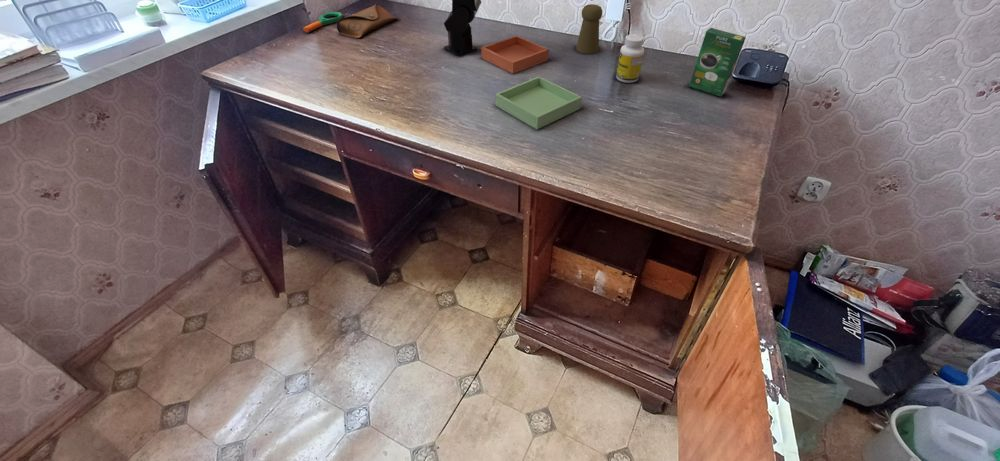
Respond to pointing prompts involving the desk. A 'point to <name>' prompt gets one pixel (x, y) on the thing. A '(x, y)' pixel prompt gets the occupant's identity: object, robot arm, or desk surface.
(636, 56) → the supplement bottle
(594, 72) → the desk surface
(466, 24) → the robot arm
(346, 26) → the sunglasses case
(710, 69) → the coffee box
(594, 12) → the olive pepper mill
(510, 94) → the sage tray
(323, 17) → the magnifying glass
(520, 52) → the terracotta tray
